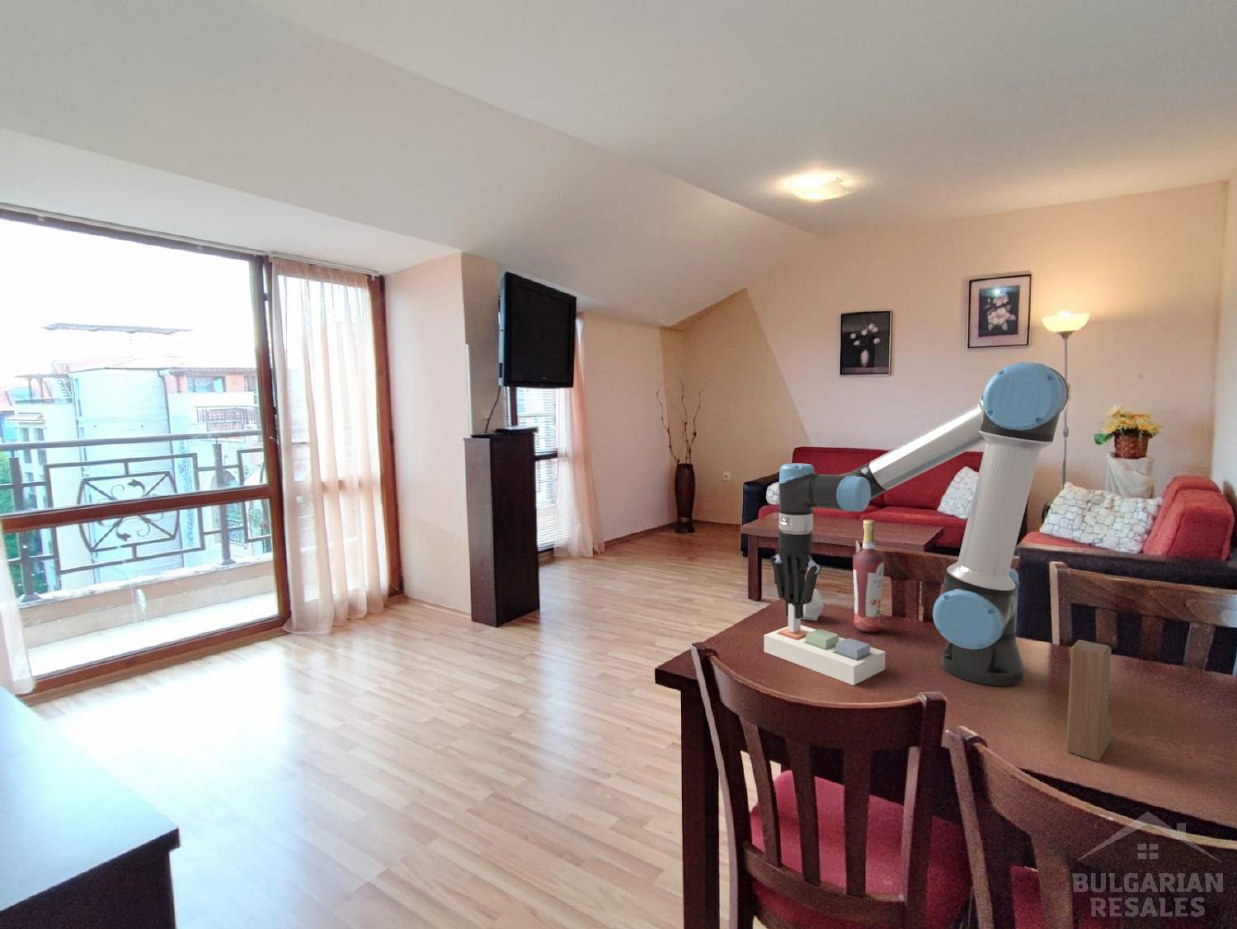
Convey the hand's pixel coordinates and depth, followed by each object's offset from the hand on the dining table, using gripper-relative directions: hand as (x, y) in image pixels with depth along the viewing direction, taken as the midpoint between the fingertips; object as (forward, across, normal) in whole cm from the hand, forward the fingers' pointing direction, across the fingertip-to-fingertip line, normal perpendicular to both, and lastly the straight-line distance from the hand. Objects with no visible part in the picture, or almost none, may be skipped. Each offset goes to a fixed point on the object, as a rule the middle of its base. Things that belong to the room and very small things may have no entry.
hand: (794, 630), depth 147 cm
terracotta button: (+3, 0, 0) cm, 3 cm away
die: (+5, -11, +21) cm, 24 cm away
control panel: (+5, +8, 0) cm, 9 cm away
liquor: (+5, +4, +25) cm, 26 cm away
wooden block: (+5, +57, +3) cm, 57 cm away
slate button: (+2, +15, 0) cm, 15 cm away
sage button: (+2, +8, 0) cm, 8 cm away
